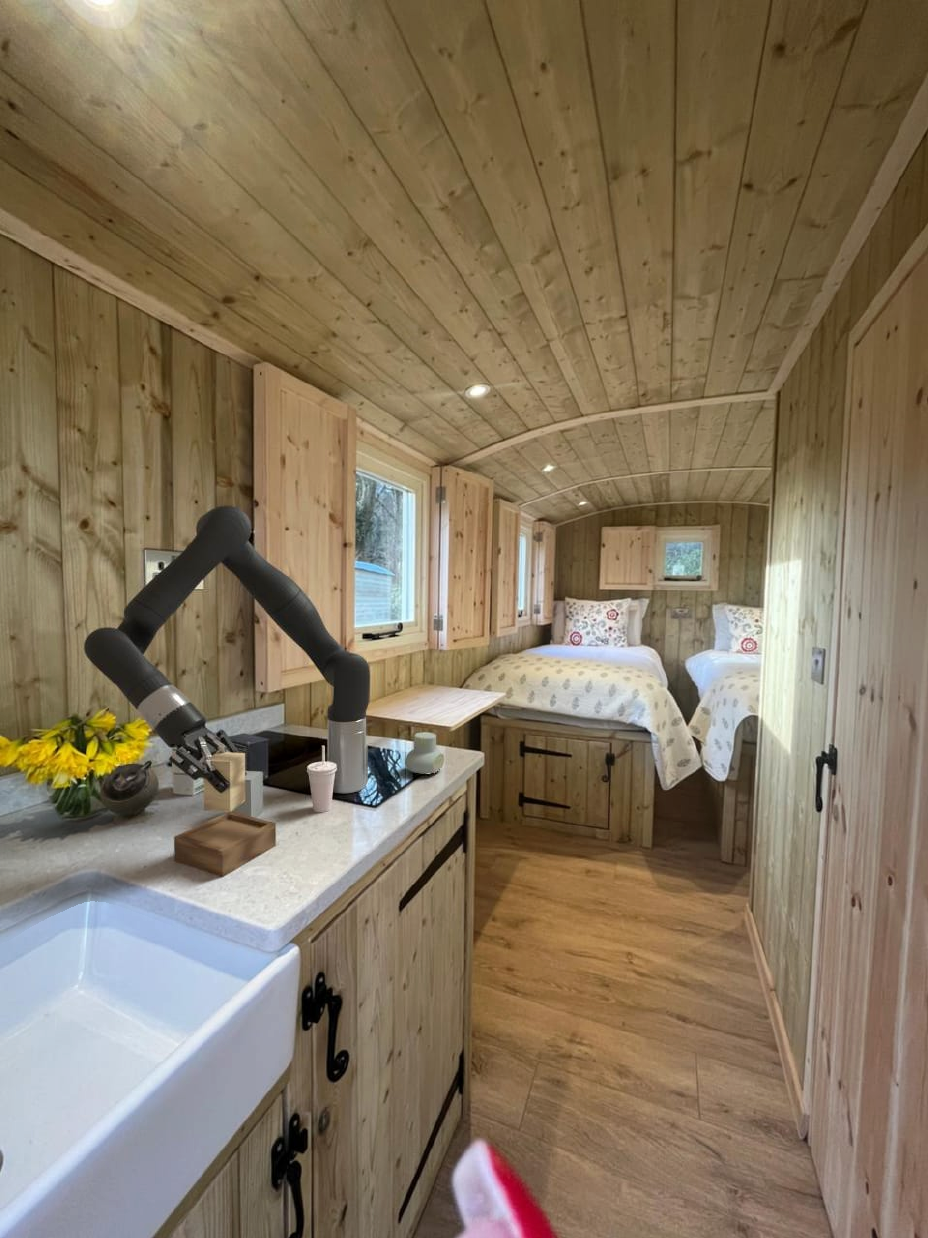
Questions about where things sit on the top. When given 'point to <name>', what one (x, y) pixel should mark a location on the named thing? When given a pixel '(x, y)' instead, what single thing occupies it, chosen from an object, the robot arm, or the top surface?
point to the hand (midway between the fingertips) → (234, 783)
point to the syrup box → (185, 781)
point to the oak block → (234, 774)
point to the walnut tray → (224, 843)
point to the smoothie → (322, 783)
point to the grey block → (252, 795)
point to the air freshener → (424, 754)
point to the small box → (252, 752)
